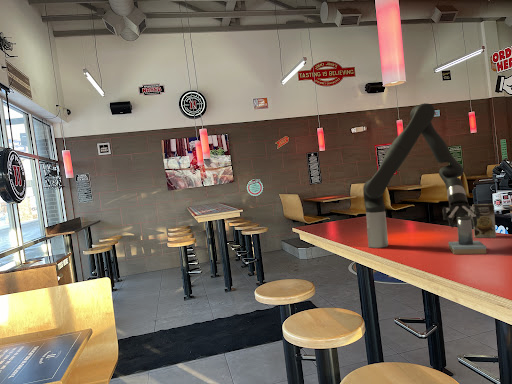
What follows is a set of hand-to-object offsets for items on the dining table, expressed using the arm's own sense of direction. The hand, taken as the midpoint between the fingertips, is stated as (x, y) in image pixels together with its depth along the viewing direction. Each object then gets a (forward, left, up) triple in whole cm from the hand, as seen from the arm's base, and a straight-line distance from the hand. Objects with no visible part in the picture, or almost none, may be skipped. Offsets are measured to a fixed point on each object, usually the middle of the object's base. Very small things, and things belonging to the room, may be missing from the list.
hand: (463, 226), depth 162 cm
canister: (0, -2, -7) cm, 8 cm away
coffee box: (+14, +30, -11) cm, 35 cm away
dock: (0, -2, -10) cm, 11 cm away
